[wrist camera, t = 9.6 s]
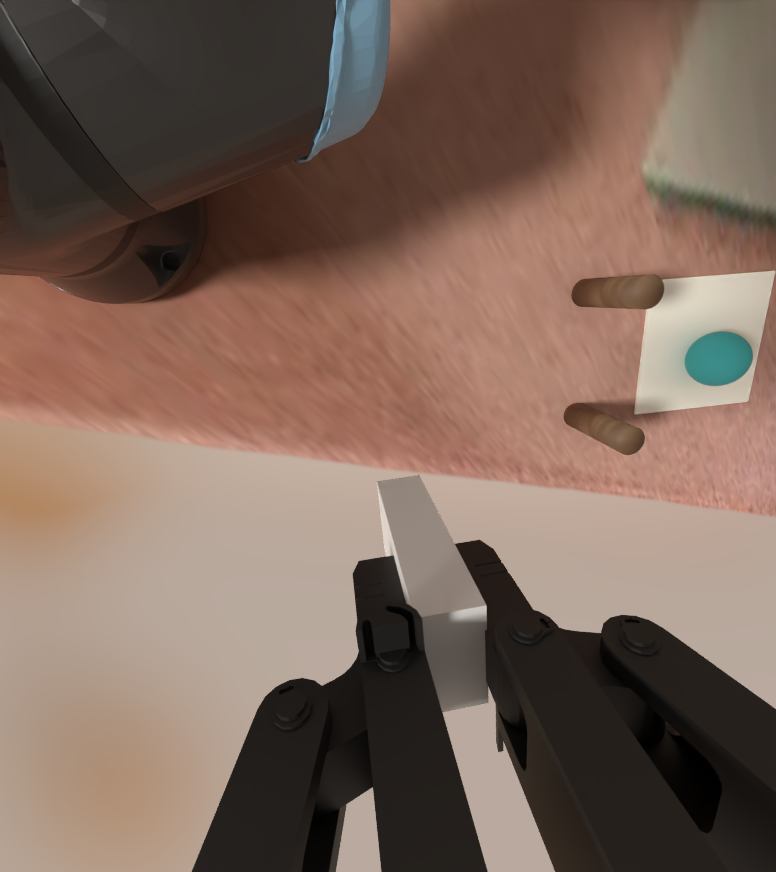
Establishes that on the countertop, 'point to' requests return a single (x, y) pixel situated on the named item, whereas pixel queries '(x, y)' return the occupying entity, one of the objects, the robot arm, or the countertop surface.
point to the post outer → (605, 428)
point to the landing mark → (687, 322)
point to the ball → (718, 358)
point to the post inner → (619, 292)
